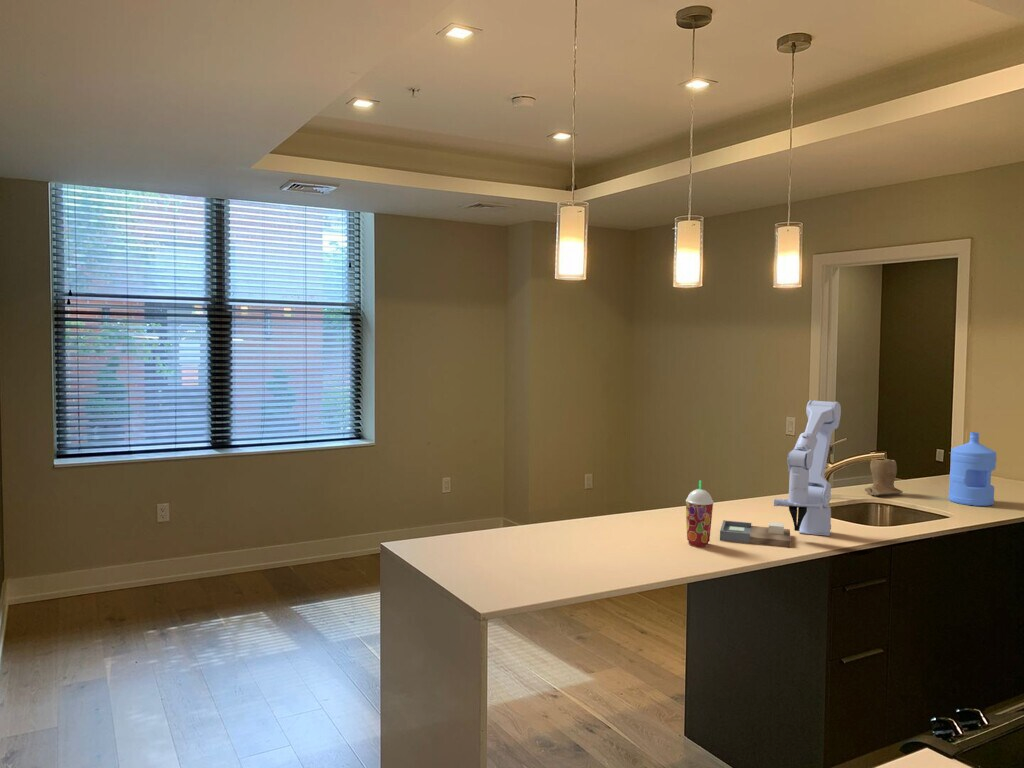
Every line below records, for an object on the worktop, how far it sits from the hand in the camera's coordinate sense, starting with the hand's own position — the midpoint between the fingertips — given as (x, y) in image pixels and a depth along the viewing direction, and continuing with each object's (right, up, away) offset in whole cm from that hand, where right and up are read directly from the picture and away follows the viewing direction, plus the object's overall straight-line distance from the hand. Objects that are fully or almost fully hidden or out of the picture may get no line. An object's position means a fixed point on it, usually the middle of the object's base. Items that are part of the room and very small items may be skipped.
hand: (796, 530), depth 246 cm
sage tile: (-19, -2, +1) cm, 19 cm away
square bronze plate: (-8, -3, +1) cm, 9 cm away
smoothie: (-33, -3, -6) cm, 34 cm away
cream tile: (-6, -1, +2) cm, 6 cm away
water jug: (+92, -1, +62) cm, 111 cm away
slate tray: (-18, -3, +5) cm, 19 cm away
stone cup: (+63, 0, +75) cm, 98 cm away
